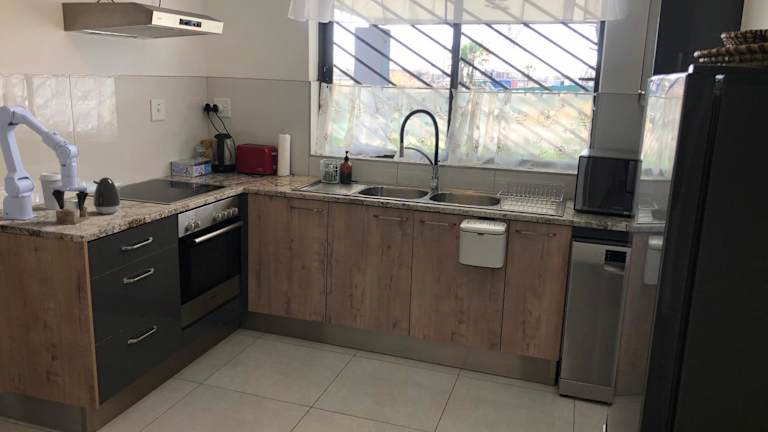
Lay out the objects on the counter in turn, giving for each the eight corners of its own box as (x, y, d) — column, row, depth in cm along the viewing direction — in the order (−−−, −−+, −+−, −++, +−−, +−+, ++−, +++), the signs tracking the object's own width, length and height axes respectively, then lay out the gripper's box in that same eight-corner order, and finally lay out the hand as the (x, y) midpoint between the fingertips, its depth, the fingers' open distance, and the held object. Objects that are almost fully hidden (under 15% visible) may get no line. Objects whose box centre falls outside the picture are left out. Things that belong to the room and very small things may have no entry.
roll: (63, 219, 235) (61, 201, 234) (69, 216, 240) (67, 199, 239) (76, 219, 236) (75, 202, 234) (81, 217, 240) (80, 199, 239)
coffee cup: (71, 208, 260) (68, 173, 257) (49, 211, 252) (46, 176, 249) (58, 205, 265) (55, 171, 261) (36, 208, 256) (33, 173, 253)
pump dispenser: (88, 213, 252) (86, 177, 249) (111, 209, 261) (109, 174, 258) (102, 216, 247) (100, 180, 244) (125, 212, 255) (123, 177, 252)
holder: (54, 223, 233) (53, 209, 231) (70, 217, 243) (69, 203, 242) (75, 224, 232) (74, 210, 231) (89, 218, 243) (88, 204, 242)
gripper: (44, 176, 230) (47, 210, 233) (82, 177, 230) (84, 212, 233) (55, 173, 237) (57, 207, 240) (91, 175, 237) (93, 208, 240)
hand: (71, 209), depth 237 cm, fingers open, 7 cm apart
